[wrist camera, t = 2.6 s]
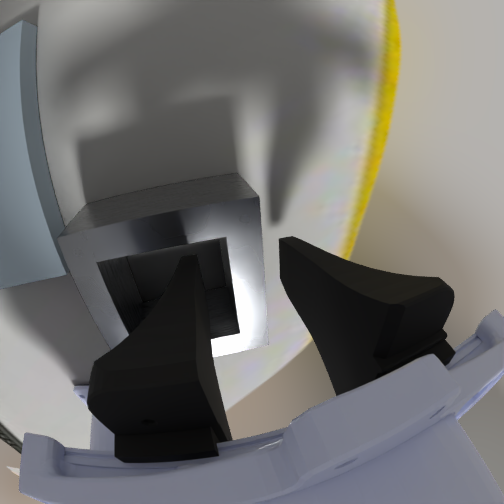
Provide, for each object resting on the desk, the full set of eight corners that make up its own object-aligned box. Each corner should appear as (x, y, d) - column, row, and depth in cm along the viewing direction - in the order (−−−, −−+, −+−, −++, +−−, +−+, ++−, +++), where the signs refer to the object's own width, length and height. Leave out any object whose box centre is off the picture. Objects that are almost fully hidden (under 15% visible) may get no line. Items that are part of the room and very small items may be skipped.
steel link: (250, 299, 15) (268, 344, 12) (129, 321, 14) (124, 370, 11) (238, 173, 11) (259, 196, 9) (86, 204, 10) (56, 238, 7)
